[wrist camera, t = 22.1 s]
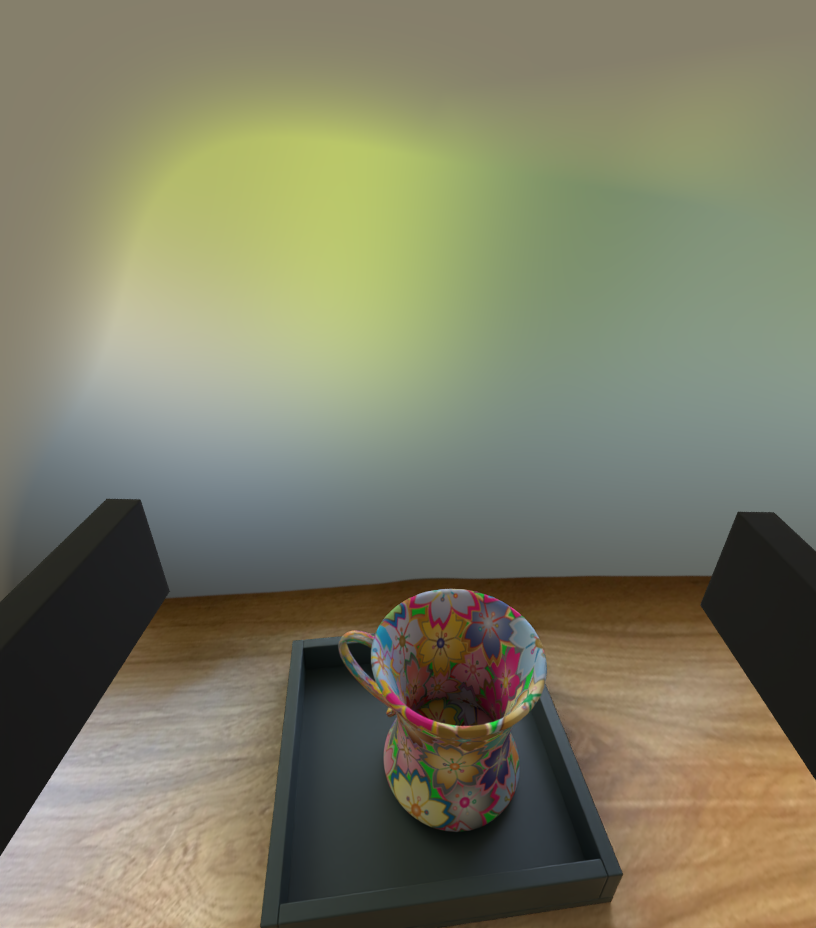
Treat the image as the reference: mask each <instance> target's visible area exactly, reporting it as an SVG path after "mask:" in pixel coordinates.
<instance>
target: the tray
mask: <svg viewBox="0 0 816 928" xmlns="http://www.w3.org/2000/svg"><path fill="white" fill-rule="evenodd" d="M375 634H376V633H374V634H371V635H373V636H375ZM341 638H342V636H341V637H330V638H319V639H308V640H304V641H303V640H296V641H293V644H292V653H291V662H290V671H289V679H288V688H287V697H286V706H285V714H284V723H283V732H282V741H281V749H280V758H279V767H278V776H277V784H276V793H275V802H274V811H273V819H272V828H271V837H270V846H269V854H268V863H267V872H266V881H265V889H264V898H263V907H262V916H261V924H260V927H261V928H441V927H447V926H454V925H460V924H467V923H474V922H480V921H487V920H493V919H500V918H507V917H513V916H520V915H526V914H533V913H540V912H546V911H553V910H559V909H566V908H573V907H579V906H586V905H592V904H599V903H606V902H611V900H612V898H613V895H614V893H615V891H616V889H617V886H618V884H619V882H620V880H621V878H622V875H623V873H622V870H621V868H620V866H619V863H618V861H617V858H616V856H615V853H614V851H613V848H612V846H611V844H610V841H609V839H608V836H607V834H606V831H605V829H604V826H603V824H602V822H601V819H600V817H599V814H598V812H597V809H596V807H595V804H594V802H593V799H592V797H591V795H590V792H589V790H588V787H587V785H586V782H585V780H584V777H583V775H582V773H581V770H580V768H579V765H578V763H577V760H576V758H575V755H574V753H573V750H572V748H571V746H570V743H569V741H568V738H567V736H566V733H565V731H564V728H563V726H562V724H561V721H560V719H559V716H558V714H557V711H556V709H555V706H554V704H553V702H552V699H551V697H550V694H549V692H548V689H547V687H546V684H545V685H544V689H543V691H542V694H541V696H540V698H539V700H538V701H537V703H536V704H535V706H534V707H533V708H532V710H531V711H530V712H529V713H528V714H527V715H526V716H525V717H524V718H522V719H521V720H520V721H519V722H517V723H516V724H514V725H513V727H512V729H511V734H512V736H513V739H514V741H515V744H516V747H517V751H518V756H519V779H518V784H517V787H516V790H515V793H514V795H513V797H512V799H511V801H510V802H509V804H508V806H507V807H506V808H505V809H504V810H503V812H502V813H501V814H500V815H499V816H498V817H496V818H495V819H494V820H493V821H491V822H489V823H488V824H486V825H484V826H482V827H480V828H477V829H474V830H469V831H463V832H450V831H443V830H439V829H435V828H433V827H430V826H428V825H426V824H424V823H422V822H420V821H419V820H417V819H416V818H414V817H413V816H412V815H410V814H409V813H408V812H407V811H406V810H405V809H404V808H403V807H402V805H401V804H400V803H399V802H398V800H397V799H396V797H395V795H394V794H393V792H392V790H391V788H390V786H389V783H388V780H387V777H386V773H385V769H384V747H385V742H386V738H387V735H388V732H389V730H390V728H391V726H392V724H393V722H394V721H395V719H396V718H397V715H394V716H392V717H388V716H387V714H386V713H387V710H388V708H389V707H388V706H387V705H385V704H384V703H382V702H381V701H380V700H378V699H377V698H376V697H374V696H373V695H372V694H371V693H370V692H368V691H367V690H366V689H365V688H364V687H363V686H362V685H361V684H360V683H359V682H358V681H357V680H356V679H355V677H354V676H353V675H352V674H351V673H350V671H349V670H348V669H347V667H346V666H345V664H344V662H343V661H342V658H341V656H340V654H339V649H338V645H339V642H340V640H341ZM347 645H348V648H349V651H350V653H351V655H352V656H353V658H354V659H355V661H356V662H357V663H358V665H359V666H360V667H361V668H362V670H363V671H364V672H365V673H366V674H367V675H368V676H369V677H370V678H371V679H372V680H373V681H374V682H376V681H375V678H374V675H373V671H372V664H371V649H372V648H370V647H368V646H366V645H364V644H362V643H359V642H347Z"/></svg>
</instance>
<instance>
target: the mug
mask: <svg viewBox="0 0 816 928" xmlns="http://www.w3.org/2000/svg"><path fill="white" fill-rule="evenodd" d="M347 642H359V643H362V644H364V645H366V646H368V647H370V648H372V649H371V664H372V671H373V675H374V678H375V681H376V682H374V681H373V680H372V679H371V678H370V677H369V676H368V675H367V674H366V673H365V672H364V671H363V670H362V668H361V667H360V666H359V665H358V663H357V662H356V661H355V659H354V658H353V656H352V655H351V653H350V651H349V648H348V645H347ZM338 649H339V654H340V656H341V658H342V661H343V662H344V664H345V666H346V667H347V669H348V670H349V671H350V673H351V674H352V675H353V676H354V677H355V679H356V680H357V681H358V682H359V683H360V684H361V685H362V686H363V687H364V688H365V689H366V690H367V691H368V692H370V693H371V694H372V695H373V696H374V697H376V698H377V699H378V700H380V701H381V702H382V703H384V704H385V705H387V706H388V707H389V708H388V710H387V713H386V714H387V716H388V717H392V716H394V715H397V718H396V719H395V721H394V722H393V724H392V726H391V728H390V730H389V732H388V735H387V738H386V742H385V747H384V769H385V773H386V777H387V780H388V783H389V786H390V788H391V790H392V792H393V794H394V795H395V797H396V799H397V800H398V802H399V803H400V804H401V805H402V807H403V808H404V809H405V810H406V811H407V812H408V813H409V814H410V815H412V816H413V817H414V818H416V819H417V820H419V821H420V822H422V823H424V824H426V825H428V826H430V827H433V828H435V829H439V830H443V831H450V832H463V831H469V830H474V829H477V828H480V827H482V826H484V825H486V824H488V823H489V822H491V821H493V820H494V819H495V818H496V817H498V816H499V815H500V814H501V813H502V812H503V810H504V809H505V808H506V807H507V806H508V804H509V802H510V801H511V799H512V797H513V795H514V793H515V790H516V787H517V784H518V779H519V756H518V751H517V747H516V744H515V741H514V739H513V736H512V734H511V729H512V727H513V725H514V724H516V723H517V722H519V721H520V720H521V719H522V718H524V717H525V716H526V715H527V714H528V713H529V712H530V711H531V710H532V708H533V707H534V706H535V704H536V703H537V701H538V700H539V698H540V696H541V694H542V691H543V689H544V685H545V681H546V674H547V663H546V656H545V652H544V649H543V646H542V644H541V641H540V639H539V637H538V635H537V634H536V632H535V630H534V629H533V628H532V626H531V625H530V624H529V623H528V622H527V620H526V619H525V618H524V617H523V616H521V615H520V614H519V613H518V612H517V611H516V610H514V609H513V608H511V607H510V606H508V605H507V604H505V603H503V602H502V601H500V600H498V599H495V598H493V597H491V596H488V595H485V594H482V593H478V592H474V591H469V590H461V589H442V590H434V591H429V592H425V593H422V594H419V595H416V596H414V597H412V598H409V599H407V600H406V601H404V602H402V603H401V604H399V605H398V606H396V607H395V608H394V609H393V610H392V611H391V612H390V613H389V614H388V615H387V616H386V617H385V618H384V620H383V621H382V623H381V624H380V626H379V627H378V629H377V631H376V634H375V636H373V635H371V634H369V633H366V632H363V631H350V632H347V633H346V634H344V635H343V636H342V638H341V640H340V642H339V645H338Z"/></svg>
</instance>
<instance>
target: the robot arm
mask: <svg viewBox="0 0 816 928" xmlns="http://www.w3.org/2000/svg"><path fill="white" fill-rule="evenodd" d="M169 592H170V591H169V588H168V585H167V582H166V578H165V575H164V572H163V569H162V566H161V563H160V559H159V557H158V553H157V550H156V547H155V544H154V540H153V537H152V534H151V531H150V528H149V525H148V522H147V518H146V515H145V512H144V509H143V506H142V503H141V500H137V499H134V500H133V499H106V500H105V501H104V502H103V503H102V504H101V505H100V506H99V507H98V508H97V509H96V510H95V511H94V512H93V513H92V514H91V515H90V516H89V517H88V518H87V519H86V520H85V521H84V522H83V523H82V524H80V525H79V527H77V528H76V529H75V530H74V531H73V532H72V533H71V534H70V535H69V536H68V537H67V538H66V539H65V540H64V541H63V542H62V543H61V544H60V545H59V546H58V547H57V548H56V549H55V550H54V551H53V552H51V554H50V555H48V556H47V557H46V558H45V559H44V560H43V561H42V562H41V563H40V564H39V565H38V566H37V567H36V568H35V569H34V570H33V571H32V572H31V573H30V574H29V575H28V576H27V577H26V578H25V579H24V580H23V581H21V582H20V583H19V584H18V585H17V586H16V587H15V588H14V589H13V590H12V591H11V592H10V593H9V594H8V595H7V596H6V597H5V598H4V599H3V600H2V601H1V602H0V856H1V854H2V853H3V851H4V849H5V848H6V846H7V845H8V843H9V842H10V840H11V838H12V837H13V835H14V834H15V832H16V831H17V829H18V828H19V826H20V824H21V823H22V821H23V820H24V818H25V817H26V815H27V813H28V812H29V810H30V809H31V807H32V806H33V804H34V803H35V801H36V799H37V798H38V796H39V795H40V793H41V792H42V790H43V788H44V787H45V785H46V784H47V782H48V781H49V779H50V778H51V776H52V774H53V773H54V771H55V770H56V768H57V767H58V765H59V763H60V762H61V760H62V759H63V757H64V756H65V754H66V753H67V751H68V749H69V748H70V746H71V745H72V743H73V742H74V740H75V738H76V737H77V735H78V734H79V732H80V731H81V729H82V727H83V726H84V724H85V723H86V721H87V720H88V718H89V717H90V715H91V713H92V712H93V710H94V709H95V707H96V706H97V704H98V702H99V701H100V699H101V698H102V696H103V695H104V693H105V692H106V690H107V688H108V687H109V685H110V684H111V682H112V681H113V679H114V677H115V676H116V674H117V673H118V671H119V670H120V668H121V667H122V665H123V663H124V662H125V660H126V659H127V657H128V656H129V654H130V652H131V651H132V649H133V648H134V646H135V645H136V643H137V642H138V640H139V638H140V637H141V635H142V634H143V632H144V631H145V629H146V627H147V626H148V624H149V623H150V621H151V620H152V618H153V617H154V615H155V613H156V612H157V610H158V609H159V607H160V606H161V604H162V602H163V601H164V599H165V598H166V596H167V595H168V593H169ZM701 607H702V608H703V610H704V611H705V613H706V614H707V616H708V617H709V619H710V620H711V622H712V623H713V625H714V626H715V628H716V630H717V631H718V633H719V634H720V636H721V637H722V639H723V640H724V642H725V643H726V645H727V646H728V648H729V649H730V651H731V652H732V654H733V655H734V657H735V658H736V660H737V661H738V663H739V664H740V666H741V668H742V669H743V671H744V672H745V674H746V675H747V677H748V678H749V680H750V681H751V683H752V684H753V686H754V687H755V689H756V690H757V692H758V693H759V695H760V696H761V698H762V699H763V701H764V702H765V704H766V705H767V707H768V709H769V710H770V712H771V713H772V715H773V716H774V718H775V719H776V721H777V722H778V724H779V725H780V727H781V728H782V730H783V731H784V733H785V734H786V736H787V737H788V739H789V740H790V742H791V743H792V745H793V747H794V748H795V750H796V751H797V753H798V754H799V756H800V757H801V759H802V760H803V762H804V763H805V765H806V766H807V768H808V769H809V771H810V772H811V774H812V775H813V777H814V778H815V780H816V551H815V550H814V549H813V548H812V547H810V546H809V545H808V544H807V543H806V542H805V541H804V540H803V539H802V538H801V537H800V536H799V535H798V534H797V533H795V532H794V531H793V530H792V529H791V528H790V527H789V526H788V525H787V524H786V523H785V522H784V521H782V519H780V518H779V517H778V516H777V515H776V514H775V513H774V512H773V513H772V512H738V513H737V515H736V518H735V520H734V523H733V525H732V528H731V530H730V533H729V535H728V538H727V540H726V543H725V545H724V547H723V550H722V552H721V555H720V557H719V560H718V562H717V565H716V567H715V570H714V572H713V575H712V577H711V580H710V582H709V585H708V587H707V590H706V592H705V595H704V597H703V600H702V602H701Z"/></svg>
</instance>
